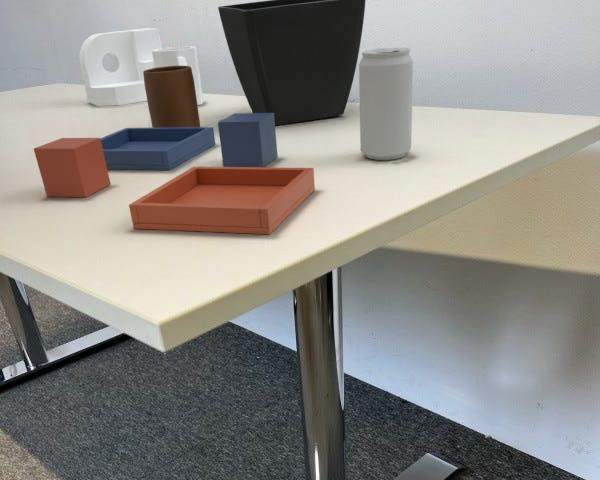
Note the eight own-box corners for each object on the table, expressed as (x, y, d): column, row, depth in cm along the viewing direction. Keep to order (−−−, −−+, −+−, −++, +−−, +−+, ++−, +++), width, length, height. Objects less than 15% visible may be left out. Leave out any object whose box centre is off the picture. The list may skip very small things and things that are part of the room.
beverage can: (381, 164, 80) (381, 54, 73) (350, 155, 84) (348, 51, 78) (421, 154, 82) (424, 47, 76) (389, 147, 87) (390, 45, 80)
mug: (144, 129, 110) (132, 67, 105) (187, 123, 112) (178, 61, 107) (159, 141, 100) (147, 73, 95) (206, 134, 103) (197, 67, 97)
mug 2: (157, 104, 131) (147, 49, 126) (198, 99, 134) (190, 45, 128) (170, 112, 122) (160, 53, 117) (214, 106, 124) (206, 48, 119)
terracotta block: (46, 196, 78) (33, 148, 75) (73, 183, 82) (61, 137, 79) (85, 197, 76) (73, 148, 73) (110, 184, 80) (100, 137, 77)
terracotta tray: (133, 228, 65) (128, 204, 64) (196, 187, 77) (193, 166, 75) (269, 234, 61) (267, 209, 60) (315, 189, 72) (313, 167, 71)
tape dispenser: (158, 91, 147) (147, 28, 140) (175, 96, 139) (164, 29, 132) (88, 102, 141) (73, 36, 134) (101, 107, 133) (86, 37, 126)
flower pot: (257, 133, 101) (244, 6, 92) (229, 114, 116) (216, 4, 107) (369, 117, 105) (368, -6, 96) (328, 101, 120) (324, -6, 111)
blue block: (223, 167, 84) (217, 122, 81) (239, 157, 88) (234, 113, 85) (263, 168, 82) (258, 121, 79) (277, 157, 86) (274, 112, 83)
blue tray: (74, 168, 89) (70, 150, 88) (129, 144, 100) (126, 127, 99) (169, 170, 85) (166, 150, 83) (215, 144, 96) (213, 126, 95)
